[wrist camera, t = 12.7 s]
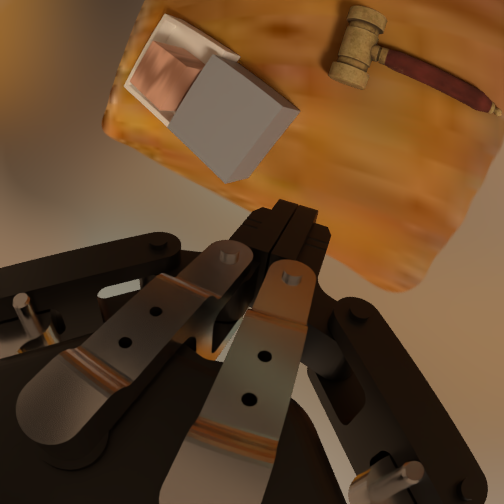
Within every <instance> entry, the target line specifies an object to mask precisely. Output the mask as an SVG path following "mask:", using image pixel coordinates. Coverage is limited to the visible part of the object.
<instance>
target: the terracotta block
mask: <svg viewBox="0 0 504 504" xmlns="http://www.w3.org/2000/svg"><path fill="white" fill-rule="evenodd" d="M205 65H206V64H204V63H203V62H202V61H200V60H199V59H198V58H196V57H195V56H194V55H192V54H191V53H190V52H188V51H187V50H185V49H184V48H180V47H176V46H172V45H169V44H165V43H160V42H156V41H152V43H151V44H150V46H149V48H148V49H147V51H146V53H145V54H144V56H143V58H142V60H141V61H140V63H139V65H138V67H137V69H136V70H135V72H134V74H133V76H132V78H131V80H130V82H131V83H132V84H133V85H134V86H135V87H136V88H137V89H138V90H139V91H140V92H141V93H142V94H143V95H144V96H145V97H146V98H147V99H148V100H150V101H151V102H152V103H153V104H154V105H155V106H156V107H157V108H158V109H159V110H163V111H177V109H178V108H179V106H180V104H181V103H182V101H183V99H184V98H185V96H186V94H187V93H188V91H189V90H190V88H191V86H192V85H193V83H194V82H195V80H196V79H197V77H198V75H199V74H200V72H201V71H202V69H203V68H204V66H205Z"/></svg>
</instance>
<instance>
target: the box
mask: <svg viewBox="0 0 504 504" xmlns="http://www.w3.org/2000/svg"><path fill="white" fill-rule="evenodd" d="M152 41H156V42H160V43H165V44H169V45H172V46H176V47H180V48H184V49H185V50H187V51H188V52H190V53H191V54H192V55H194V56H195V57H196V58H198V59H199V60H200V61H202V62H203V63H204V64H206V63H207V62H208V60H209V59H210V57H211V56H212V54H214V55H217V56H220V57H223V58H226V59H229V60H232V61H235V62H237V61H238V60H239V58H240V56H239V55H237V54H236V53H235V52H233V51H232V50H230V49H229V48H227V47H226V46H224V45H222V44H221V43H219V42H218V41H216V40H215V39H213V38H212V37H210V36H208V35H207V34H205V33H204V32H202V31H200V30H199V29H197V28H195V27H194V26H192V25H190V24H189V23H187V22H185V21H184V20H182V19H179V18H177V17H174V16H171V15H168V14H164V16H163V17H162V19H161V20H160V22H159V24H158V25H157V27H156V29H155V30H154V32H153V34H152V35H151V37H150V39H149V40H148V42H147V44H146V46H145V47H144V49H143V51H142V53H141V54H140V56H139V58H138V60H137V62H136V64H135V66H134V67H133V69H132V71H131V73H130V75H129V77H128V79H127V81H126V83H125V85H124V87H125V88H126V89H127V90H128V91H129V92H130V93H131V94H132V95H134V96H135V97H136V98H137V99H138V100H139V101H140V102H141V103H142V104H143V105H144V106H145V107H146V108H148V109H149V110H150V111H151V112H152V113H153V114H154V115H155V116H156V117H157V118H158V119H159V120H160V121H161V122H162V123H163V124H165V125H166V126H167V127H168V125H169V123H170V121H171V120H172V118H173V116H174V114H175V113H176V111H163V110H159V109H158V108H157V107H156V106H155V105H154V104H153V103H152V102H151V101H150V100H148V99H147V98H146V97H145V96H144V95H143V94H142V93H141V92H140V91H139V90H138V89H137V88H136V87H135V86H134V85H133V84H132V83H131V82H130V80H131V78H132V76H133V74H134V72H135V70H136V69H137V67H138V65H139V63H140V61H141V60H142V58H143V56H144V54H145V53H146V51H147V49H148V48H149V46H150V44H151V43H152Z"/></svg>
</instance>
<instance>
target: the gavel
mask: <svg viewBox="0 0 504 504" xmlns="http://www.w3.org/2000/svg"><path fill="white" fill-rule="evenodd" d="M347 21H348V22H349V26H348V27H347V28H346V31H345V34H344V37H343V40H342V44H341V47H340V50H339V53H338V56H339V57H338V60H337V62H332V65H331V68H330V71H329V74H328V76H329V77H330V78H331V79H333V80H335V81H338V82H340V83H343V84H346V85H348V86H351V87H354V88H357V89H361V90H363V89H365V88H366V85H367V82H368V79H369V74H367V73H366V72H367V69H368V67H370V64H371V61H375V62H377V61H379V63H381V64H383V65H386V66H387V67H389V68H391V69H392V70H394V71H397V72H399V73H402V74H404V75H406V76H409V77H411V78H413V79H415V80H418V81H420V82H422V83H424V84H426V85H429V86H431V87H433V88H435V89H437V90H439V91H441V92H443V93H445V94H447V95H449V96H451V97H453V98H455V99H457V100H459V101H460V102H462V103H464V104H466V105H468V106H470V107H471V108H473V109H475V110H478V111H482V112H487V113H489V114H492V113H494V114H495V115H496V116H500V115H501V113H502V111H501V110H500V109H499V108H496V107H495V104H494V102H492V101H491V100H490V99H489V98H488V97H487V96H486V95H485V94H484V93H483V92H482V91H480V90H479V89H477V88H475V87H473V86H472V85H470V84H468V83H466V82H464V81H462V80H460V79H458V78H457V77H455V76H453V75H451V74H449V73H447V72H445V71H443V70H440V69H438V68H436V67H434V66H432V65H430V64H428V63H425V62H423V61H421V60H419V59H416V58H414V57H412V56H409V55H407V54H404V53H402V52H399V51H395V50H390V49H387V48H384V47H383V48H381V46H379V45H377V43H378V40H379V38H378V35H379V34H383V32H384V29H385V26H386V23H387V19H386V18H385V16H384V15H382V14H381V13H379V12H378V11H376V10H374V9H371V8H368V7H365V6H352V7H351V8H350V10H349V13H348V17H347Z"/></svg>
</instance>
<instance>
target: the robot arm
mask: <svg viewBox="0 0 504 504" xmlns="http://www.w3.org/2000/svg"><path fill="white" fill-rule="evenodd" d="M317 215H318V210H315V209H312V208H308V207H305V206H302V205H298V204H295V203H292V202H288V201H285V200H282V199H279V200H278V202H277V203H276V204H275V206H274V207H273V208H272V210H271V209H267V208H264V207H262V208H260V209H257V210H255V211H253V212H252V213H251V214H250V215H249V216H248V217H247V219H246V220H245V221H244V222H243V224H242V225H241V226H240V227H239V228H238V229H237V230H236V232H235V233H234V234H233V235H232V236H231V237H230V239H229V240H221V241H217V242H214V243H212V244H211V245H210V246H208V247H207V248H206V249H205V250H204V251H203V252H194V251H186V250H181V242H180V240H179V239H178V238H177V237H176V236H174V235H173V234H170V233H165V232H153V233H148V234H143V235H139V236H134V237H129V238H125V239H120V240H116V241H111V242H107V243H102V244H98V245H93V246H89V247H85V248H80V249H76V250H72V251H67V252H63V253H59V254H55V255H51V256H47V257H42V258H39V259H35V260H31V261H27V262H22V263H19V264H15V265H11V266H7V267H3V268H0V504H347V503H346V501H345V499H344V496H343V494H342V491H341V489H340V487H339V484H338V482H337V480H336V477H335V475H334V472H333V470H332V468H331V465H330V463H329V460H328V458H327V455H326V453H325V451H324V448H323V446H322V443H321V441H320V439H319V436H318V434H317V431H316V429H315V427H314V424H313V423H312V421H311V419H310V418H309V416H308V415H307V413H306V412H305V411H304V410H303V408H302V407H301V406H300V405H299V404H298V403H297V402H296V401H295V400H293V399H292V398H291V395H292V391H293V387H294V383H295V379H296V376H297V372H298V368H299V364H300V362H301V363H303V364H304V365H306V366H307V367H308V368H307V373H308V377H309V379H310V381H311V383H312V385H313V387H314V389H315V391H316V393H317V395H318V397H319V399H320V401H321V404H322V406H323V408H324V409H325V412H326V414H327V416H328V418H329V420H330V422H331V424H332V426H333V428H334V430H335V432H336V434H337V436H338V439H339V441H340V443H341V445H342V447H343V449H344V451H345V453H346V455H347V457H348V459H349V461H350V463H351V465H352V467H353V469H354V471H355V473H356V475H357V476H356V477H355V478H354V480H353V481H352V483H351V485H350V487H349V493H348V497H349V502H350V504H484V503H485V501H486V498H487V492H488V485H487V480H486V477H485V475H484V473H483V472H482V470H481V468H480V466H479V465H478V463H477V461H476V460H475V458H474V456H473V454H472V452H471V451H470V449H469V447H468V446H467V444H466V442H465V441H464V439H463V437H462V436H461V434H460V433H459V431H458V429H457V428H456V426H455V424H454V423H453V421H452V419H451V418H450V416H449V415H448V413H447V411H446V410H445V408H444V407H443V405H442V404H441V402H440V400H439V399H438V397H437V396H436V394H435V393H434V391H433V390H432V388H431V387H430V385H429V384H428V382H427V381H426V379H425V377H424V376H423V374H422V373H421V371H420V370H419V368H418V367H417V366H416V364H415V363H414V361H413V360H412V358H411V357H410V355H409V354H408V353H407V351H406V349H405V348H404V347H403V345H402V344H401V342H400V341H399V339H398V338H397V337H396V335H395V334H394V332H393V331H392V330H391V328H390V327H389V325H388V324H387V323H386V321H385V320H384V319H383V317H382V316H381V314H380V313H379V311H378V310H377V309H376V308H375V307H374V306H373V305H372V304H370V303H369V302H367V301H365V300H363V299H360V298H356V297H345V298H342V299H340V300H339V301H336V300H334V299H333V298H331V297H330V296H328V295H327V294H326V293H325V292H324V291H323V290H322V289H321V287H320V285H319V283H318V275H319V272H320V269H321V266H322V263H323V260H324V257H325V254H326V250H327V247H328V244H329V241H330V238H331V234H330V231H329V229H328V227H326V226H323V225H320V224H316V219H317ZM136 279H139V280H140V287H141V289H140V290H137V291H133V292H129V293H125V294H121V295H117V296H113V297H110V298H104V299H103V298H99V297H98V296H97V294H98V292H99V291H100V290H101V289H103V288H104V287H107V286H111V285H116V284H119V283H124V282H128V281H132V280H136ZM248 307H251V308H252V309H248ZM247 309H248V310H247ZM245 312H246V313H245ZM244 314H245V315H244ZM243 315H244V318H243ZM239 326H240V327H239ZM238 328H239V329H238ZM237 329H238V331H237ZM236 331H237V333H236V336H235V338H234V340H233V342H232V345H231V347H230V349H229V351H228V353H227V356H226V358H225V360H224V362H219V361H215V360H216V359H217V357H218V356H219V355H220V353H221V352H222V350H223V349H224V347H225V346H226V345H227V343H228V342H229V340H230V339H231V338H232V336H233V335H234V333H235V332H236Z"/></svg>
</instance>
